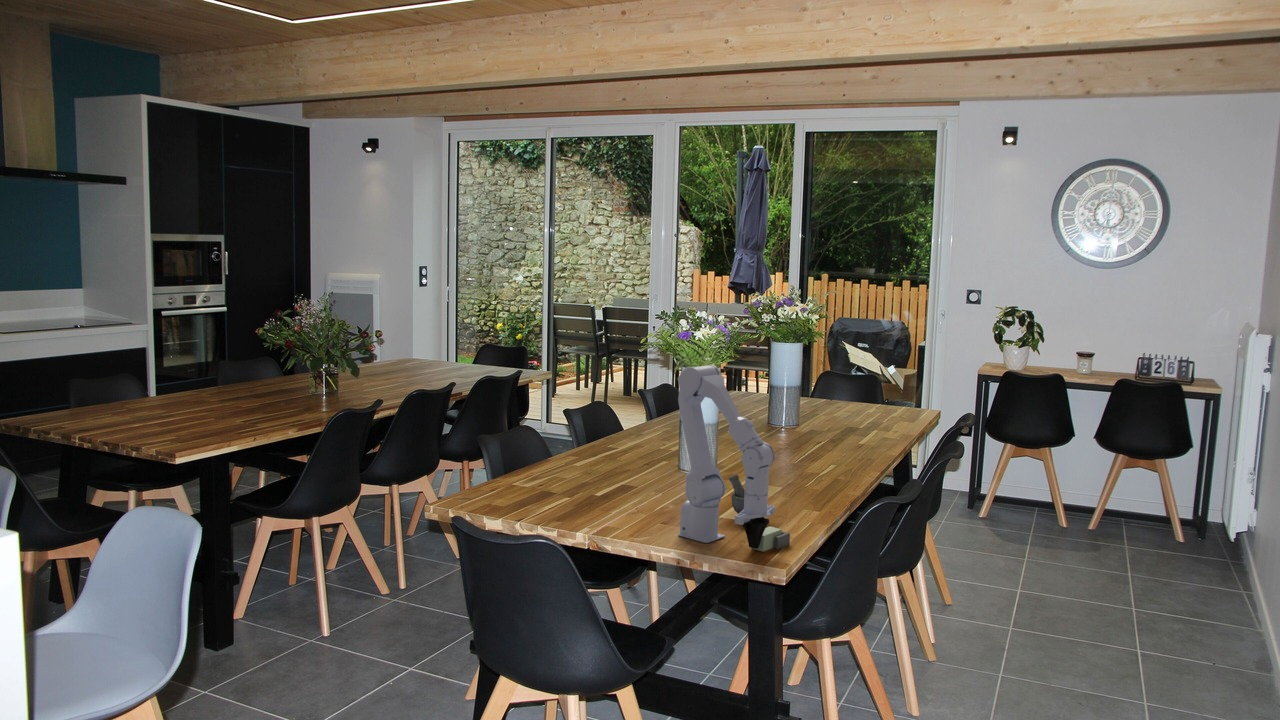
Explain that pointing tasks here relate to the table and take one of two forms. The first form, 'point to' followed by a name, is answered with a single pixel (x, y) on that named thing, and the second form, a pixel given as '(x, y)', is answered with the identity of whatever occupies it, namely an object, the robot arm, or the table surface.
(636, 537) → the table surface
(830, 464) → the table surface
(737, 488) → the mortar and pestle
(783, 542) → the dark grey piece
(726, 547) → the table surface
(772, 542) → the rectangular block
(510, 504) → the table surface
